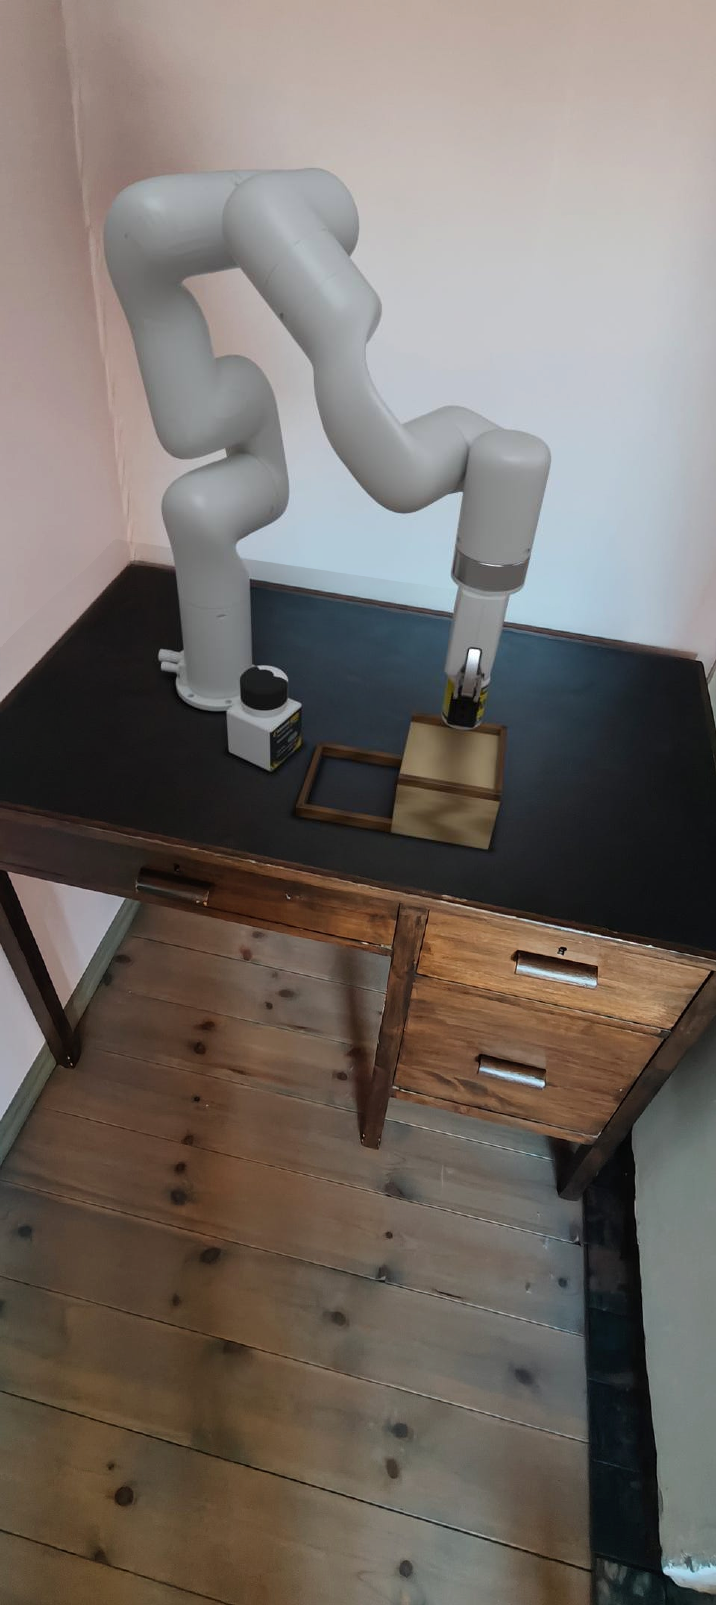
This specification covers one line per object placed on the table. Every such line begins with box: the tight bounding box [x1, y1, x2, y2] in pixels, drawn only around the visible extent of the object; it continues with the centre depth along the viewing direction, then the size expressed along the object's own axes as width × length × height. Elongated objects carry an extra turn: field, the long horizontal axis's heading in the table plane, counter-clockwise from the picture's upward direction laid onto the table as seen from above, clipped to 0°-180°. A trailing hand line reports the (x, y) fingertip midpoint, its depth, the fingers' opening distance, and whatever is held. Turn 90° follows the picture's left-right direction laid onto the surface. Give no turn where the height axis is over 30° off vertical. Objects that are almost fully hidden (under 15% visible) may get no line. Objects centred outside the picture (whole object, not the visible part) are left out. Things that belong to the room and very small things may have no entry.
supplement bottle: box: [441, 666, 491, 730], centre depth 93 cm, size 5×5×8 cm
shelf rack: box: [295, 710, 508, 850], centre depth 103 cm, size 24×13×9 cm, turn 79°
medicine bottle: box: [226, 664, 303, 772], centre depth 108 cm, size 7×7×12 cm
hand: (462, 708), depth 95 cm, fingers closed on supplement bottle, 4 cm apart
